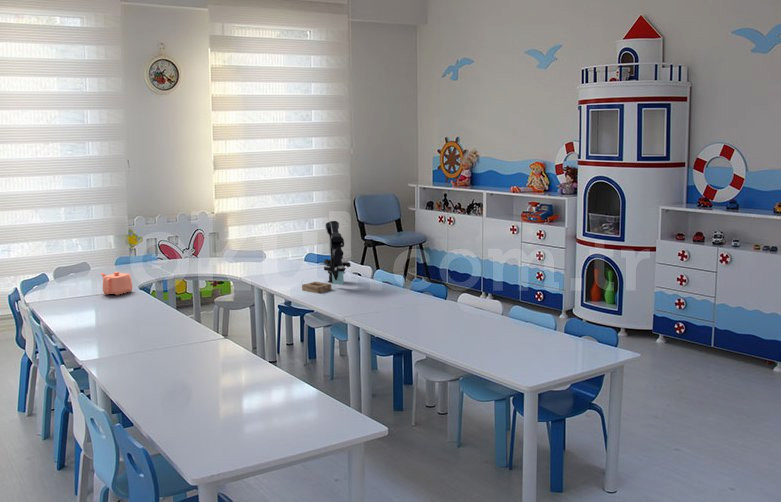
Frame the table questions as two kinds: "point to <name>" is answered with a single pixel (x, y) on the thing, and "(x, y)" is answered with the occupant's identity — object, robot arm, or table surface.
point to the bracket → (338, 278)
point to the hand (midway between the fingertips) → (337, 279)
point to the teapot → (116, 283)
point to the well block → (316, 287)
